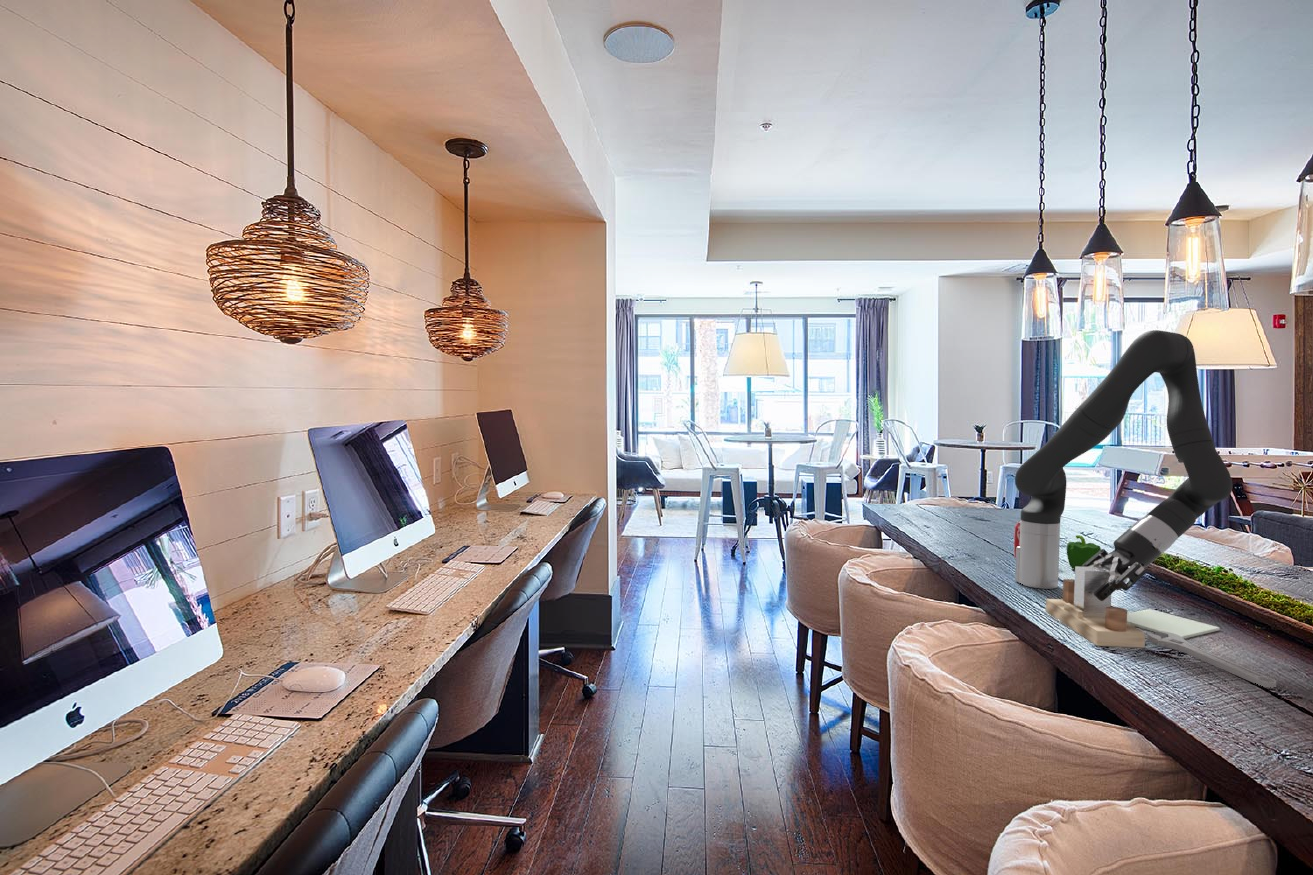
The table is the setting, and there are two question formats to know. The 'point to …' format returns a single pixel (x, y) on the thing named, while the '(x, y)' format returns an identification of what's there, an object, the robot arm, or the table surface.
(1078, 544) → the bell pepper
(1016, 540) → the soda can
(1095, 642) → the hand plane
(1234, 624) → the table surface
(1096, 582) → the grey block
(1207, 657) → the adjustable wrench
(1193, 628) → the mat
